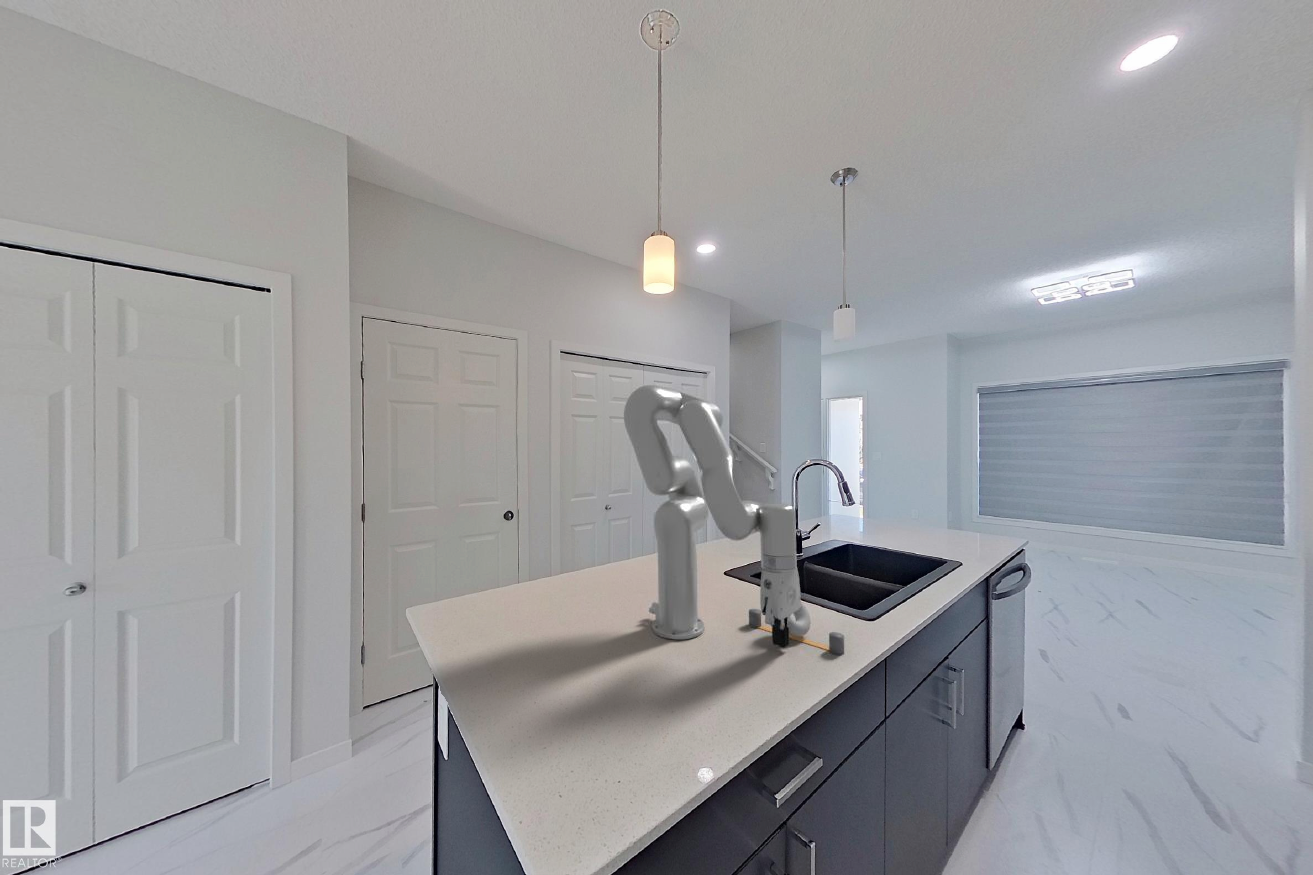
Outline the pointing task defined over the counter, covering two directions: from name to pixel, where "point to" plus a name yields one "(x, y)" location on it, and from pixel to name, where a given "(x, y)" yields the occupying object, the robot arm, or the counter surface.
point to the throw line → (834, 638)
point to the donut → (800, 622)
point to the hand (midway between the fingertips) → (780, 644)
